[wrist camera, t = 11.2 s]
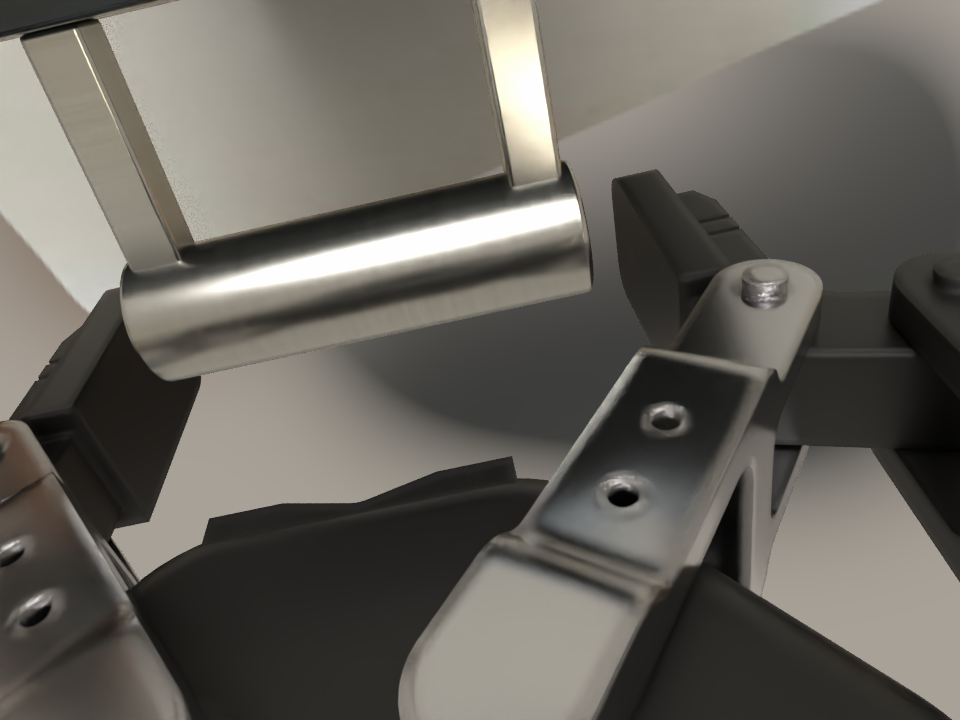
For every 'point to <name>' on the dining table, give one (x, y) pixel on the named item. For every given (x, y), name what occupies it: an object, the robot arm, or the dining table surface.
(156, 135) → the dining table surface
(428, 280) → the bin lid
